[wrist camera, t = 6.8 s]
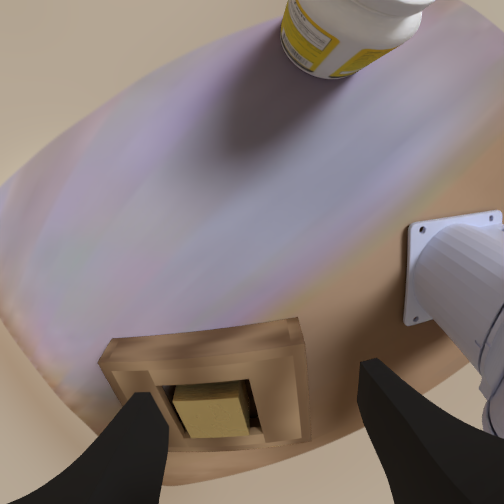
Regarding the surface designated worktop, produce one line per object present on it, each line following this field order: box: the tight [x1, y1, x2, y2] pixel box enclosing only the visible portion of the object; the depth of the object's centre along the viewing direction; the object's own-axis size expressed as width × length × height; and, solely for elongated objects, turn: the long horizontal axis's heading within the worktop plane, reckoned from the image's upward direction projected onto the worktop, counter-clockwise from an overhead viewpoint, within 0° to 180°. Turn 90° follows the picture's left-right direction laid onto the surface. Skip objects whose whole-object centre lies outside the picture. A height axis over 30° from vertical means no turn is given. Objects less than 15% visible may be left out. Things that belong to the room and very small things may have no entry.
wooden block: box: [173, 379, 250, 438], centre depth 20 cm, size 4×4×4 cm
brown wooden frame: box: [98, 317, 312, 452], centre depth 21 cm, size 14×11×3 cm
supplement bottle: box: [280, 0, 435, 79], centre depth 10 cm, size 5×5×10 cm
